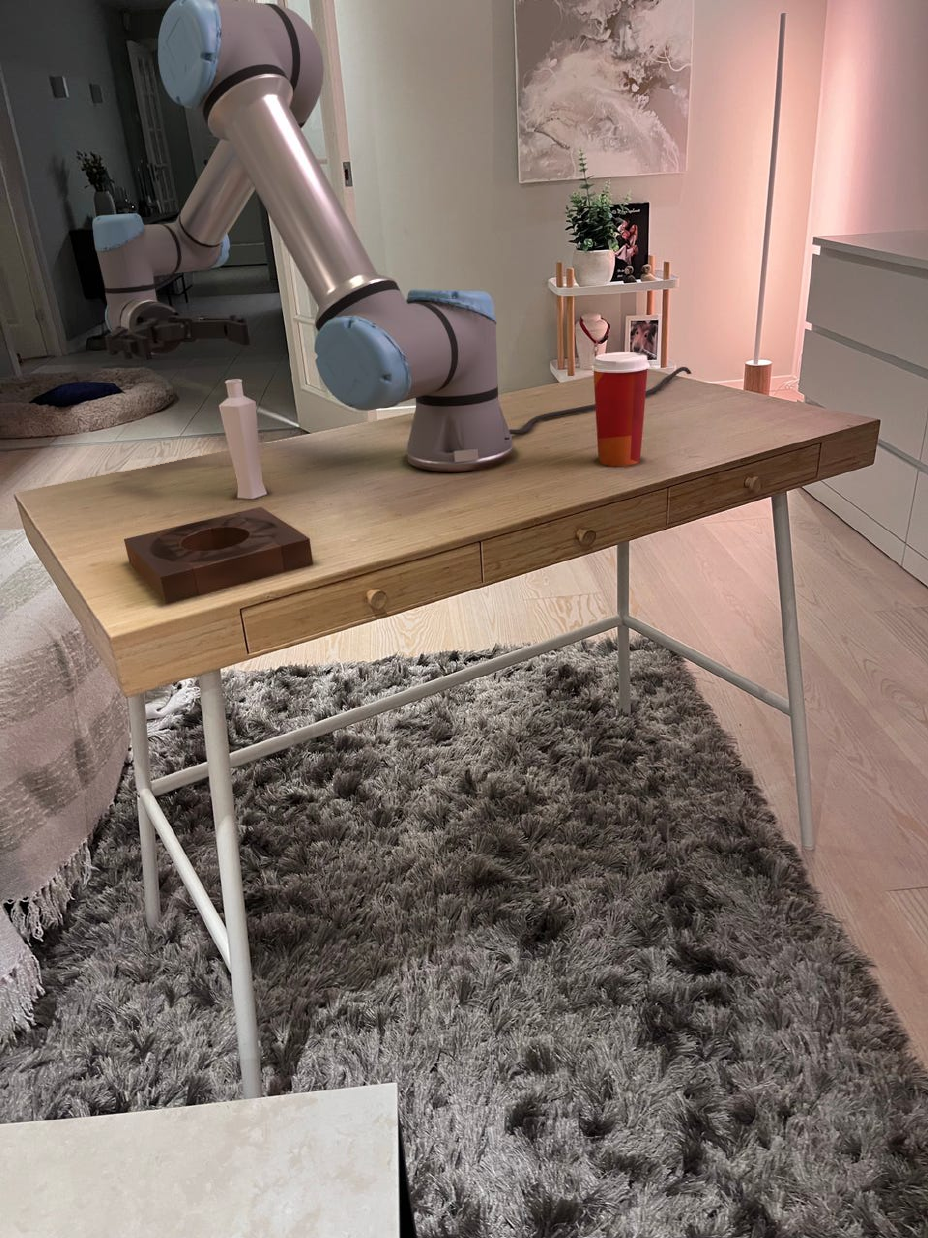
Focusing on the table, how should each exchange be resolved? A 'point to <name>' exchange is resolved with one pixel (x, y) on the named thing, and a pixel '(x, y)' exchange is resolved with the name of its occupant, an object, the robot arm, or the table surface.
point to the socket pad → (217, 553)
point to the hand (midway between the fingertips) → (197, 341)
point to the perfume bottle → (243, 440)
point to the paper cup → (620, 406)
